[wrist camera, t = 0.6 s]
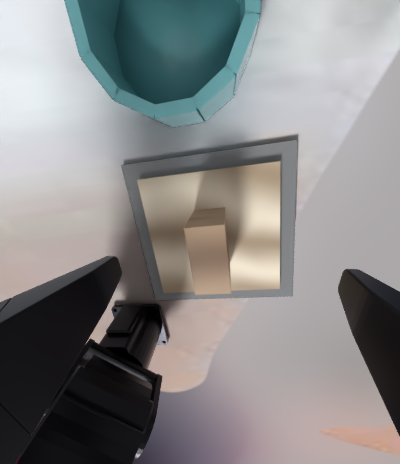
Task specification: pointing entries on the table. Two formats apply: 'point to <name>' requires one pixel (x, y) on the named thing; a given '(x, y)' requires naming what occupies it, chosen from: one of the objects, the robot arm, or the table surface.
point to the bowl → (166, 52)
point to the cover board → (242, 222)
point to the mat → (218, 160)
